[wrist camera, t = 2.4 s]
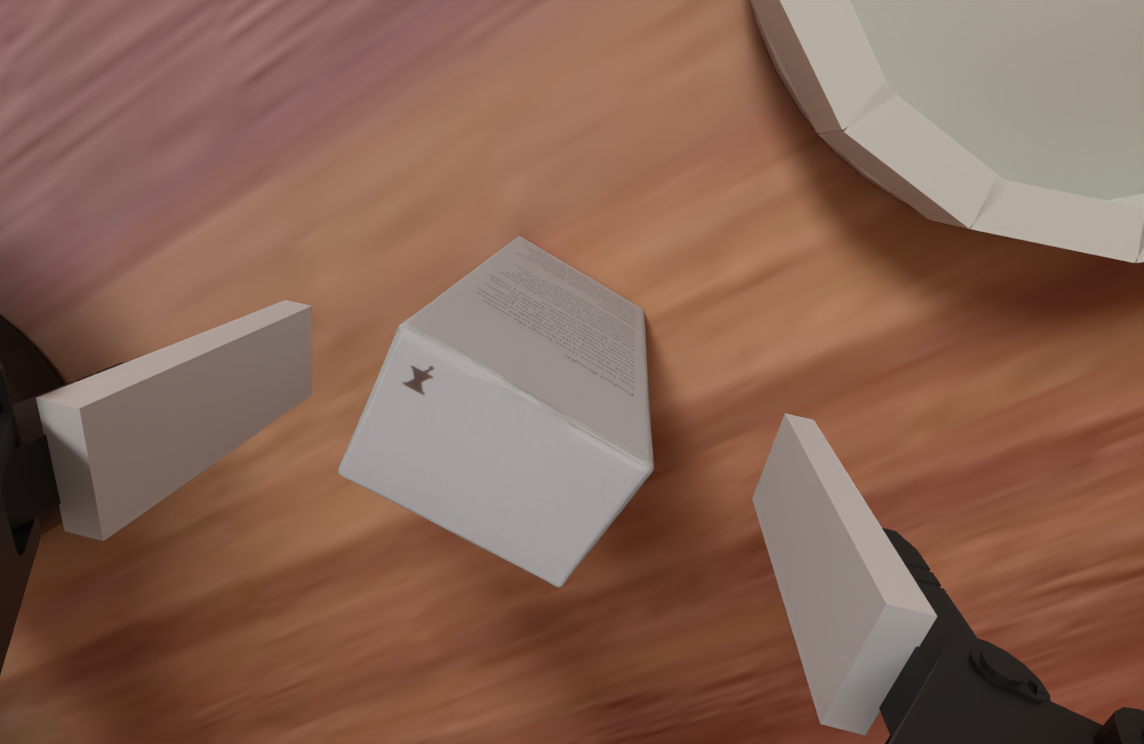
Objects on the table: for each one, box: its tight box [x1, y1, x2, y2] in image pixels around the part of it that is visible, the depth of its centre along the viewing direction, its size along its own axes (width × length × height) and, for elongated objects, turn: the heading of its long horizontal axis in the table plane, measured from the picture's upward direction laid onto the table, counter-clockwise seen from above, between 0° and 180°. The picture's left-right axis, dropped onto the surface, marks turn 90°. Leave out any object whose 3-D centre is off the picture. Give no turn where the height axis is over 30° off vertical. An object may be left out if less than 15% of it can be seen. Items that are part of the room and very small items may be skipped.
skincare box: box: [338, 236, 654, 587], centre depth 17 cm, size 6×4×12 cm
